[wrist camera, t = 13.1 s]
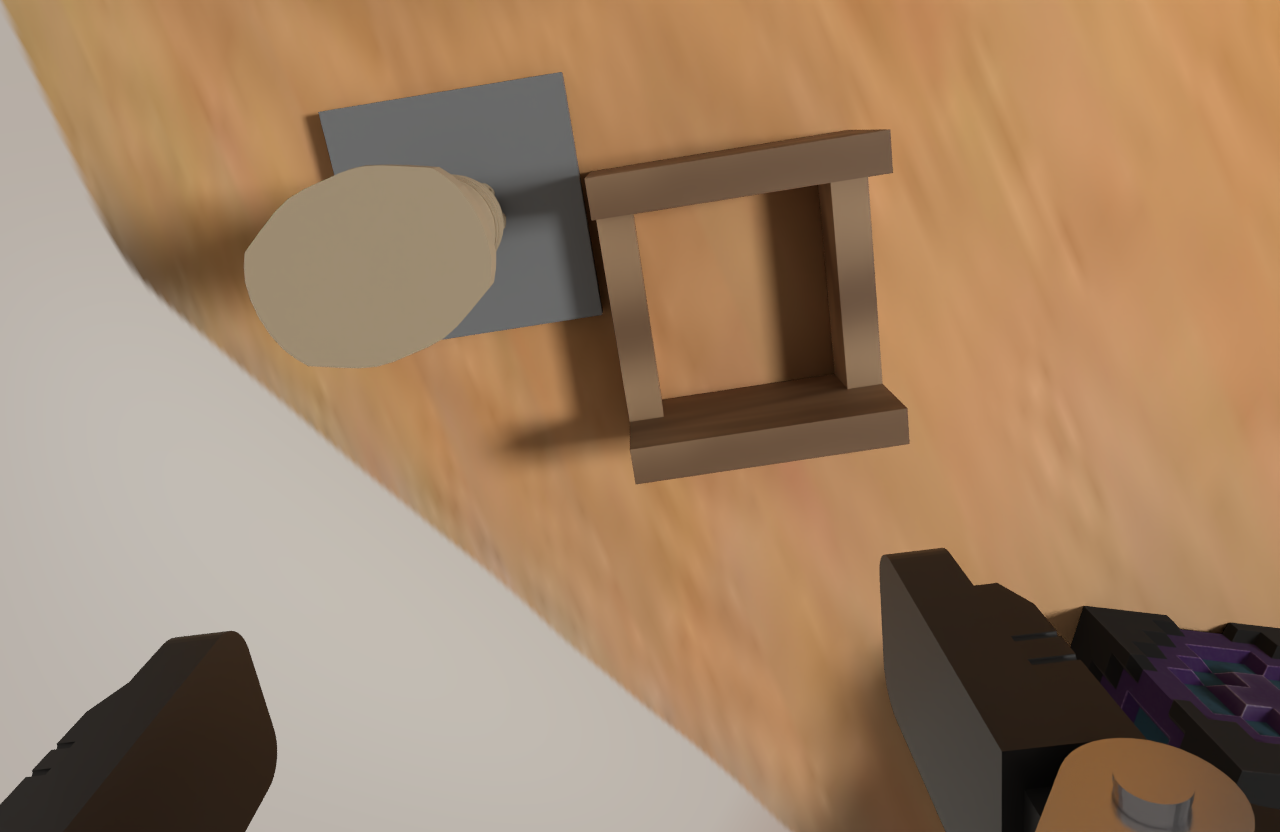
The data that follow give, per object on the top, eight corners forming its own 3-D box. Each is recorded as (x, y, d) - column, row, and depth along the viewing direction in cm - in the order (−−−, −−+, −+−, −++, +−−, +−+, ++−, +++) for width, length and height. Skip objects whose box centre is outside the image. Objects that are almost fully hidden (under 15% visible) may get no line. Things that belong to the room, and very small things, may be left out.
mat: (324, 112, 36) (318, 112, 35) (562, 73, 36) (561, 72, 35) (383, 345, 39) (378, 349, 38) (602, 311, 39) (602, 314, 38)
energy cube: (1309, 631, 45) (1543, 802, 33) (1229, 819, 48) (1415, 1031, 37) (1083, 604, 44) (1242, 770, 33) (1019, 797, 48) (1143, 1006, 36)
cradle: (590, 171, 37) (584, 178, 31) (849, 129, 37) (890, 129, 31) (634, 435, 41) (635, 484, 35) (869, 399, 40) (909, 443, 35)
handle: (373, 193, 36) (210, 232, 22) (512, 130, 36) (437, 128, 21) (426, 298, 38) (305, 399, 24) (561, 240, 37) (520, 307, 23)
